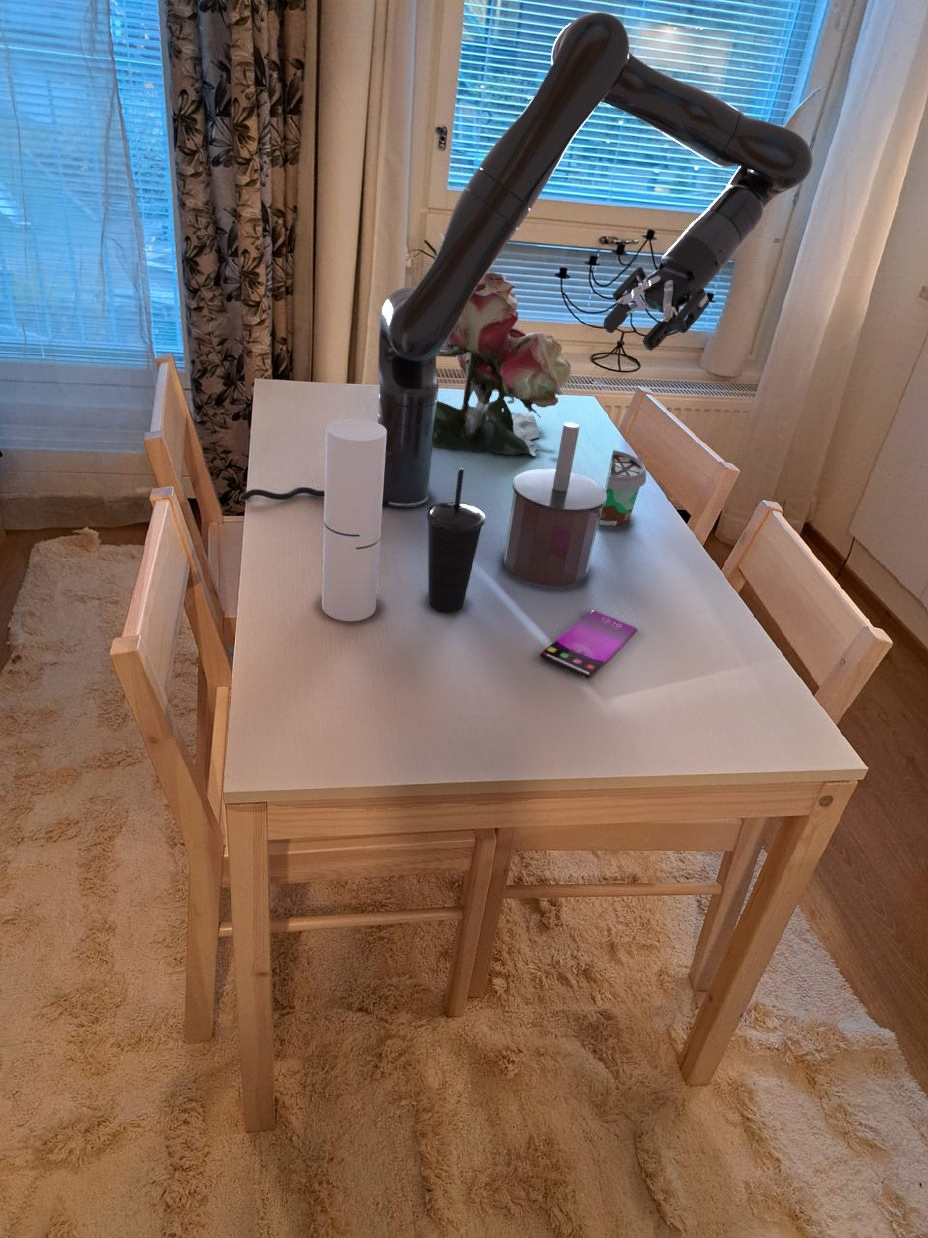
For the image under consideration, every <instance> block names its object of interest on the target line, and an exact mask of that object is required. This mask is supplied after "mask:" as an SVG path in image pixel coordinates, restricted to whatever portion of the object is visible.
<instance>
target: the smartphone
mask: <svg viewBox="0 0 928 1238" xmlns="http://www.w3.org/2000/svg"><path fill="white" fill-rule="evenodd" d="M637 631H638V629H637V627H635V626H633V625H630V624H628V623H626V622H623V621H620V620H618V619H615V618H613V617H611V616H609V615H606V614H604V613H602V612H600V611H597V610H594V609H592V610H590V611H589V612H587V613H586V614H585V615H584V616H583V617H581V618H580V619H579V620H578V621H577V622H576V623H575V624H573V625H572V626H571V627H569V628H568V629H567V630H566V631H565V632H564V633H563V634H562V635H560V636H559V637H558V638H557V639H555V640H554V641H553V642H551V643H550V645H549V646H547V647H546V648H545V649H544V650H542V651H541V652H540V653H539V656H540V658H542V659H545V660H547V661H549V662H550V663H553V664H555V665H557V666H559V667H561V668H564V669H566V670H568V671H571V672H573V673H574V674H577V675H579V676H582V677H584V678H586V679H589V678H591V677H592V676H593V675H594V674H595V673H596V672H597V671H598V670H600V668H601V667H602V666H603V665H605V664H606V662H607V661H608V660H609V659H611V658H612V657H613V656H614V655H615V654H616V653H617V652H618V651H619V650H620V649H621V648H622V647H623V646H624V645H625V644H626V643H627V642H628V641H630V639H631V638H632V637H633V636H635V634H636V633H637Z"/></svg>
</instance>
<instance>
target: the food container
mask: <svg viewBox="0 0 928 1238" xmlns="http://www.w3.org/2000/svg"><path fill="white" fill-rule="evenodd" d="M646 481H647V469H646V466H645V463H644V462H643V461H642V460H640V459H639V458H637V457H635V456H634V455H631V454H630V453H627V452H624V451H619V450H616V449H615V450H614V449H613V450H612V453H611V458H610V463H609V468H608V472H607V477H606V482H605V487H604V489H605V491H606V493H607V500H606V503H605V504H604V506H603V507H602V508H601V513H600V517H599V522H598V526H599V527H604V528H608V527H609V528H616V527H622V526H624V525H626V524H628V523H629V521H630V520H631V516H632V514H633V513H632V512H633V510H634V506H635V503H636V500H637V497H638V494H639V491H640V488H641V487H642V486H644V485H645V484H646Z"/></svg>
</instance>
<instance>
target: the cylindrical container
mask: <svg viewBox="0 0 928 1238" xmlns="http://www.w3.org/2000/svg"><path fill="white" fill-rule="evenodd" d="M386 436H387V430H386V428H385V427H384V426H382V425H381V424H379V423H378V422H376V421H374V420H370V419H365V418H356V417H355V418H354V417H350V418H349V417H346V418H339V419H335V420H332V421H330V422H328V423H327V424H326V426H325V458H324V459H325V460H324V461H325V462H324V463H325V466H324V468H325V469H324V490H325V497H324V505H323V506H324V507H323V508H324V509H323V547H322V548H323V552H322V590H321V592H322V593H321V608H322V611H323V613H325V615H327V616H329V617H330V618H332V619H335V620H338V621H342V622H359V621H363V620H365V619H369V617H371V616H373V614H374V613H375V611H376V608H377V592H378V577H379V563H380V562H379V560H380V545H381V544H380V543H381V531H382V514H383V513H382V512H383V506H382V500H383V484H384V468H385V452H386Z"/></svg>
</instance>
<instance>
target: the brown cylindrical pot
mask: <svg viewBox="0 0 928 1238" xmlns="http://www.w3.org/2000/svg"><path fill="white" fill-rule="evenodd" d="M601 508H602V507H601ZM601 508H600V509H598V510H595V511H592V512H587V513H560V512H554V511H549V510H545V509H542V508H539V507H536V506H534V505H531V504H529V503H527V502H525V501H524V500H522V499H521V498H520V497H518V496H517V495H516V493H515V492H514V491H513V495H512V501H511V508H510V512H509V513H510V514H509V520H508V526H507V534H506V540H505V547H504V552H503V562H504V566H505V567H506V569H507V570H509V572H510V573H512V575H514V576H516V577H518V578H520V579H522V580H524V581H525V582H527V583H532V584H535V585H540V586H543V587H559V588H560V587H561V588H562V587H566V586H567V587H568V586H573V585H576V584H578V583H580V582H581V581H583V580H585V579H586V576H587V574H588V572H589V568H590V563H591V559H592V554H593V550H594V544H595V540H596V535H597V530H598V526H599V521H600V516H601V514H600V513H601Z"/></svg>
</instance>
